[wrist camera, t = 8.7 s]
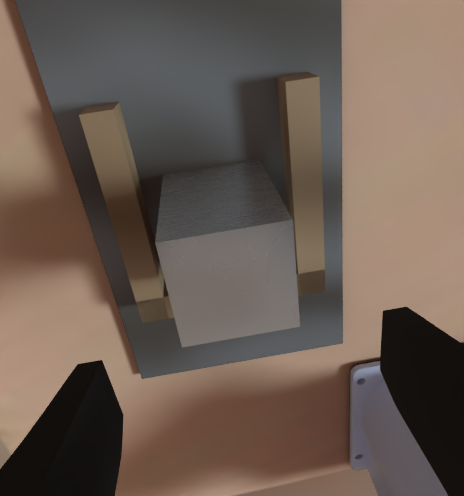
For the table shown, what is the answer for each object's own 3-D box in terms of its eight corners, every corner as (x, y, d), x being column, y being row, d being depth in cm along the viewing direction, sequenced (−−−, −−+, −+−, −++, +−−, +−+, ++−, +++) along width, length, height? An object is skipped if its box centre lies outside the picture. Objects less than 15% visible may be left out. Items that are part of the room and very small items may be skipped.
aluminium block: (267, 242, 19) (300, 326, 14) (181, 257, 19) (182, 347, 14) (259, 158, 17) (292, 219, 12) (163, 174, 17) (155, 243, 12)
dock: (340, 338, 23) (352, 363, 21) (142, 373, 23) (139, 401, 21) (336, -138, 13) (358, -160, 12) (-11, -88, 13) (-38, -103, 11)
